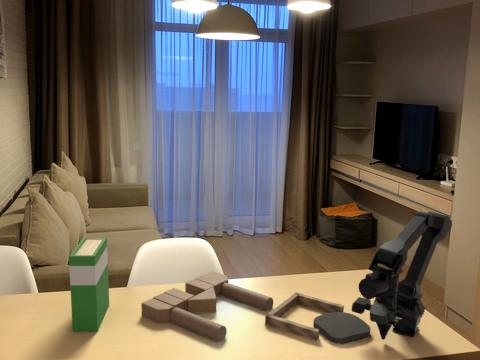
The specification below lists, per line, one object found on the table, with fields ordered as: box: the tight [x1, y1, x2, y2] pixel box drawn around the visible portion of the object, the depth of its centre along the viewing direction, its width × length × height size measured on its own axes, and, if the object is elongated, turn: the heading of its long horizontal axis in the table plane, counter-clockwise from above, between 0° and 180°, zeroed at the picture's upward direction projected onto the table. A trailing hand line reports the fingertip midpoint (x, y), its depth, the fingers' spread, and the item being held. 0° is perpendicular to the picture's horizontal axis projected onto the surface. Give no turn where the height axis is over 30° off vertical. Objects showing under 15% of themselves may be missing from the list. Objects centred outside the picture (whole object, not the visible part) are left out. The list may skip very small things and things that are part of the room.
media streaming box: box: [312, 311, 372, 345], centre depth 154 cm, size 15×15×3 cm
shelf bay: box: [264, 292, 345, 342], centre depth 161 cm, size 18×21×3 cm
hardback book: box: [68, 236, 110, 333], centre depth 157 cm, size 18×7×24 cm, turn 3°
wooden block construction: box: [140, 270, 274, 343], centre depth 165 cm, size 35×6×29 cm
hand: (383, 338), depth 148 cm, fingers closed
